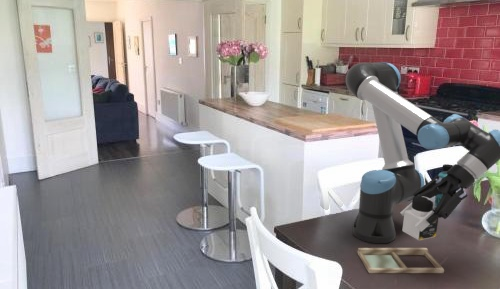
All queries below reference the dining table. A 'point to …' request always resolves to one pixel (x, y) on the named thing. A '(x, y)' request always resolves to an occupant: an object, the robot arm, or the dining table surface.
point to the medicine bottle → (419, 218)
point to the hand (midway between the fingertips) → (410, 221)
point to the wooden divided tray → (384, 263)
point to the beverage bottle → (442, 175)
